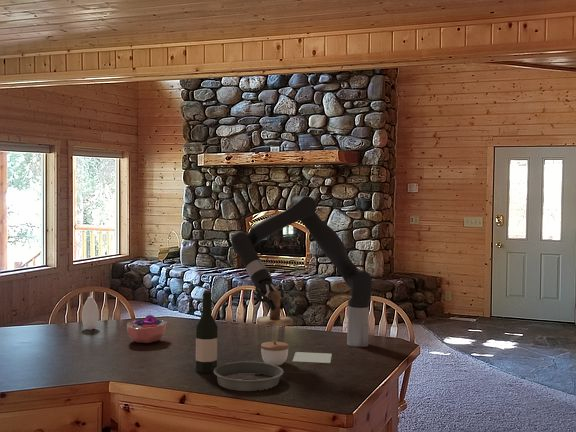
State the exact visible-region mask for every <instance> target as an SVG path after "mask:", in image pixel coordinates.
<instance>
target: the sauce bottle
mask: <svg viewBox="0 0 576 432" xmlns="http://www.w3.org/2000/svg"><path fill="white" fill-rule="evenodd" d="M99 318H100V310H99V307H98V305H97V302H96V300H95V299H94V297H93V296H92V291H90V292H89V296H88V297H87V299H86V301H85V303H84V304H83V307H82V310H81V321H82V322H81V323H82V324H83V325H82V326H84V328H85V329H87V330H90V331H91V330H93V329H95V327H97V325H98V324H99Z"/></svg>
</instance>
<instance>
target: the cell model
mask: <svg viewBox="0 0 576 432" xmlns="http://www.w3.org/2000/svg"><path fill="white" fill-rule="evenodd" d="M167 323H168V322H167V321H166V320H163V319H157V317H156V316H154V315H152V314H149V315H146V316H145V318H144V319H136V320H131V321H129V322H127V323H126V329H127V335H128V337H129V338H130V339H131V340H133V341H134V342H136V343H141V344H150V343H155V342H157V341H159V340H161V339H162V338H163V337H164V336H165V333H166V329H167Z"/></svg>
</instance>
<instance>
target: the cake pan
mask: <svg viewBox="0 0 576 432" xmlns="http://www.w3.org/2000/svg"><path fill="white" fill-rule="evenodd" d="M238 373H260V374H266V375H270V376H273V377H270V376H269V377H268V378H260V379H257V380H242V379H233V378H228V377H225V376H228V375H233V374H238ZM213 374H214V375H215V376H216V379H217V383H218V385H219V386H220V387H222V388H225V389H227V390H231V391H240V392H258V391H257V390H259V391H265V390H269V388H270V389H272V387H273V388H274V386H275V387H276V386H278V384H279V382H280V378H281V376H283V375H284V369H283V368H282V367H280V366H279V365H273V364H269V363H265V362H264V361H263V362H262V361H234V362H233V361H232V362H227V363H222V364H220V365H217V367H216V368H215V369H214V372H213ZM266 375H265V376H266ZM264 389H265V390H264Z"/></svg>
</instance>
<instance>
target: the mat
mask: <svg viewBox="0 0 576 432" xmlns="http://www.w3.org/2000/svg"><path fill="white" fill-rule="evenodd" d="M332 354H333V353H325V352H303V351H302V352H301V351H295V353H294V356H293V358H292V361H291V362H296V363H297V362H300V363H320V364H321V363H322V364H323V363H324V364H331V362H332V361H331V360H332Z"/></svg>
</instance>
